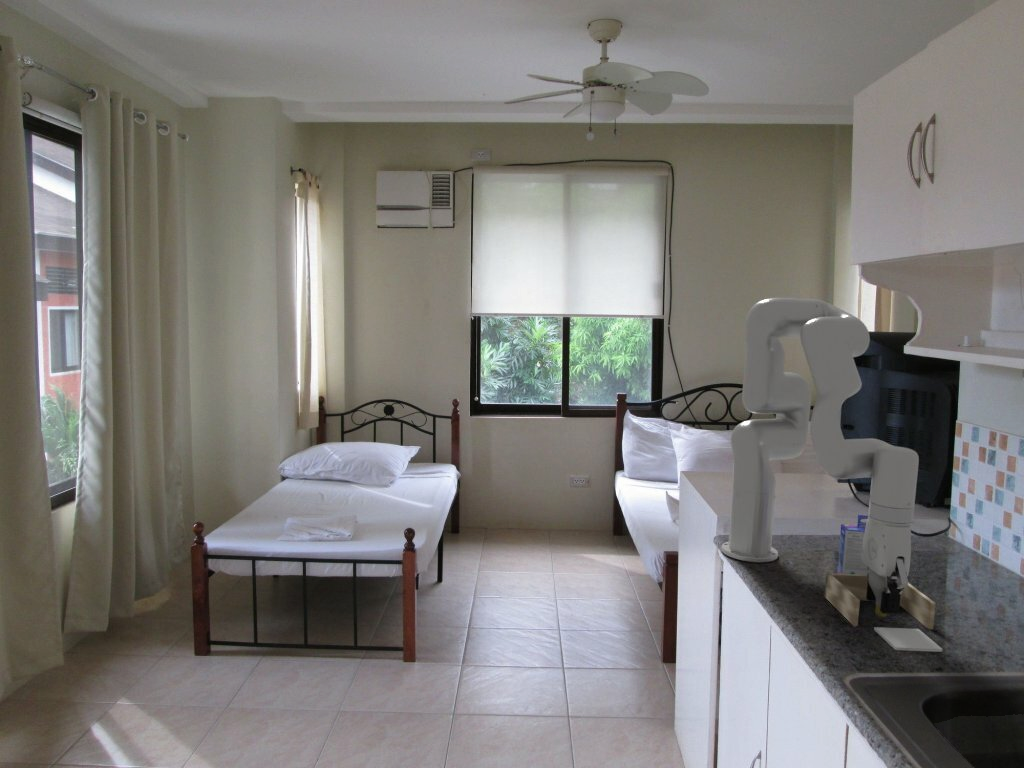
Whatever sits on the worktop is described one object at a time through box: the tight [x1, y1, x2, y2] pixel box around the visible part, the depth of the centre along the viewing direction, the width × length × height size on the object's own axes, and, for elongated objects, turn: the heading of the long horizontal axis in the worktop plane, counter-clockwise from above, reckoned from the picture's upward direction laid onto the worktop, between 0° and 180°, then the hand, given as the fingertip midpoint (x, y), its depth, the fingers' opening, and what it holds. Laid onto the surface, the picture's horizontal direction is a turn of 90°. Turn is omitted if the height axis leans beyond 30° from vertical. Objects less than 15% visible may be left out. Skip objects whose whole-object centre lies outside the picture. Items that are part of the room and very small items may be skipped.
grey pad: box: [873, 626, 943, 653], centre depth 137 cm, size 8×8×1 cm
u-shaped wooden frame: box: [824, 572, 936, 630], centre depth 149 cm, size 14×15×5 cm
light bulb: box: [869, 570, 896, 619], centre depth 146 cm, size 6×6×10 cm
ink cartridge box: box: [837, 514, 868, 575], centre depth 163 cm, size 10×6×14 cm, turn 79°
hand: (882, 605), depth 147 cm, fingers closed on light bulb, 5 cm apart
